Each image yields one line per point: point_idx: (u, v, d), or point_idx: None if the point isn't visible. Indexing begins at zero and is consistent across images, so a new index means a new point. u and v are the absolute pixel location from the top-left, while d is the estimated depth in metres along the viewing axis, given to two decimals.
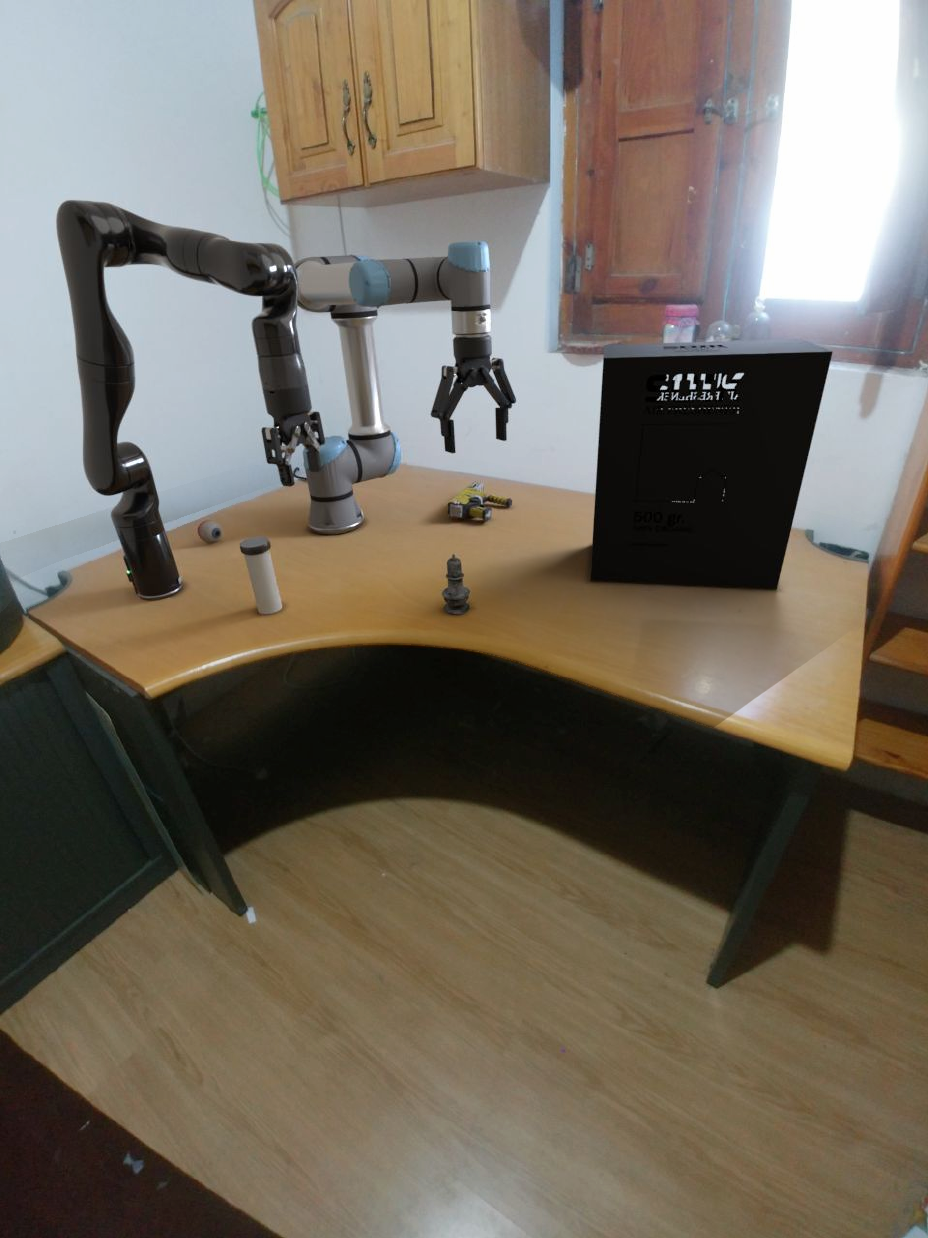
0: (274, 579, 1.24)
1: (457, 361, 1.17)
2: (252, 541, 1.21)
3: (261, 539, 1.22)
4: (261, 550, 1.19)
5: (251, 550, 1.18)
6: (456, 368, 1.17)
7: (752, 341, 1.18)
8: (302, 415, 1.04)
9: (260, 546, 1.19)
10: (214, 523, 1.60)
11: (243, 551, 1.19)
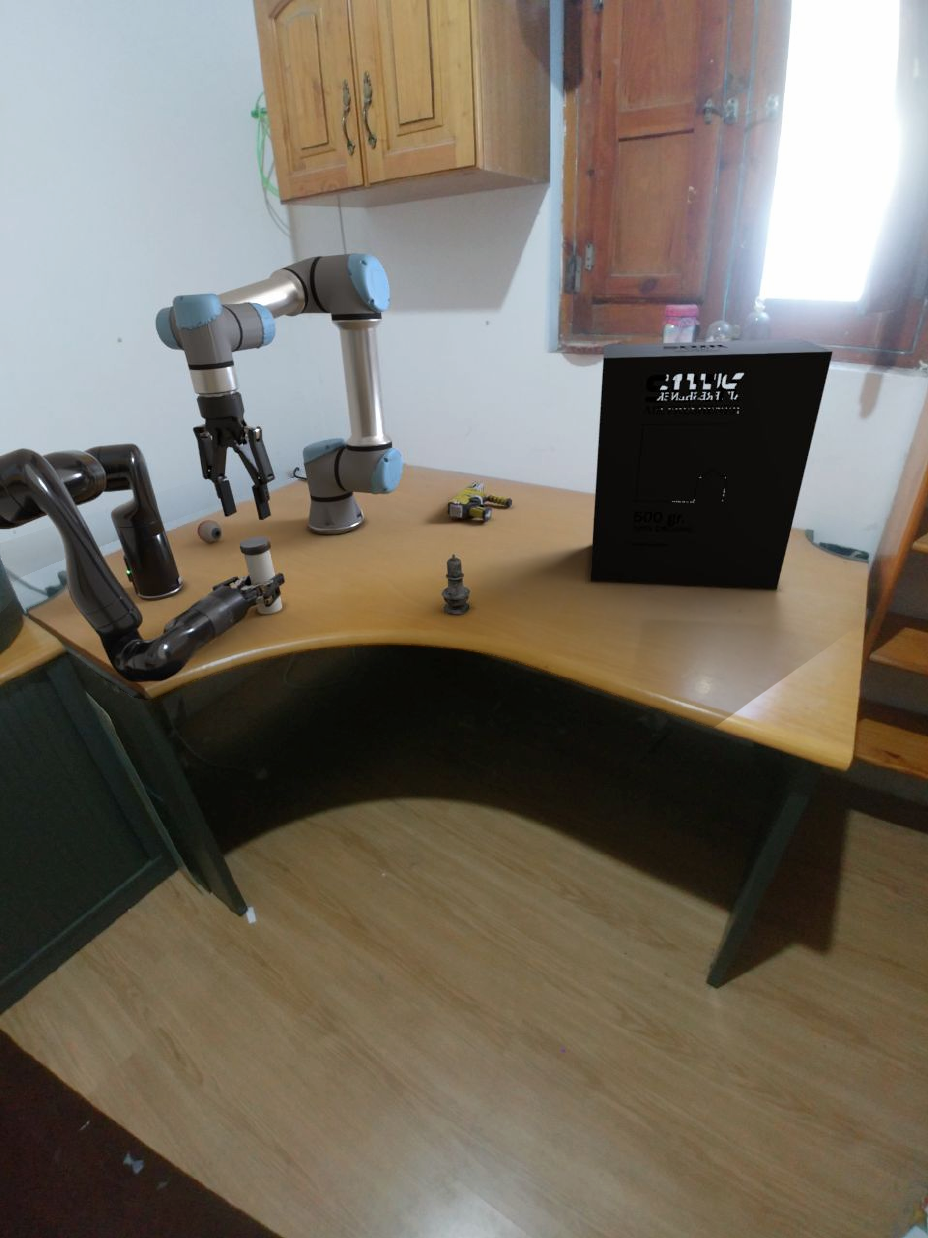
0: None
1: (241, 418, 1.07)
2: (252, 541, 1.21)
3: (261, 539, 1.22)
4: (261, 550, 1.19)
5: (251, 550, 1.19)
6: None
7: (752, 341, 1.18)
8: None
9: (260, 546, 1.19)
10: (214, 523, 1.60)
11: (243, 551, 1.19)
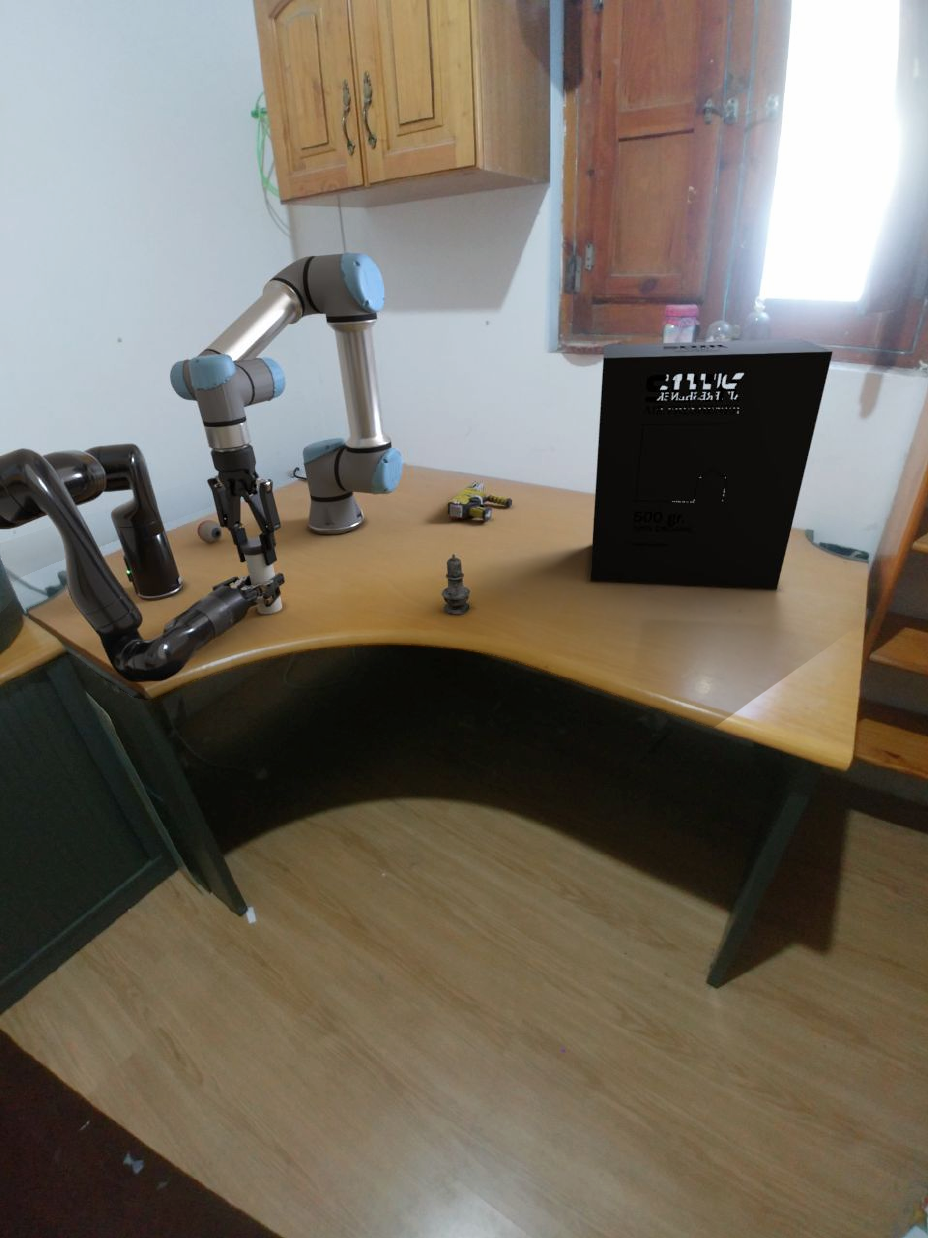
0: None
1: (252, 470, 1.12)
2: (252, 541, 1.21)
3: None
4: (261, 550, 1.19)
5: (251, 550, 1.18)
6: None
7: (752, 341, 1.18)
8: None
9: (260, 546, 1.19)
10: (214, 523, 1.60)
11: (243, 551, 1.19)
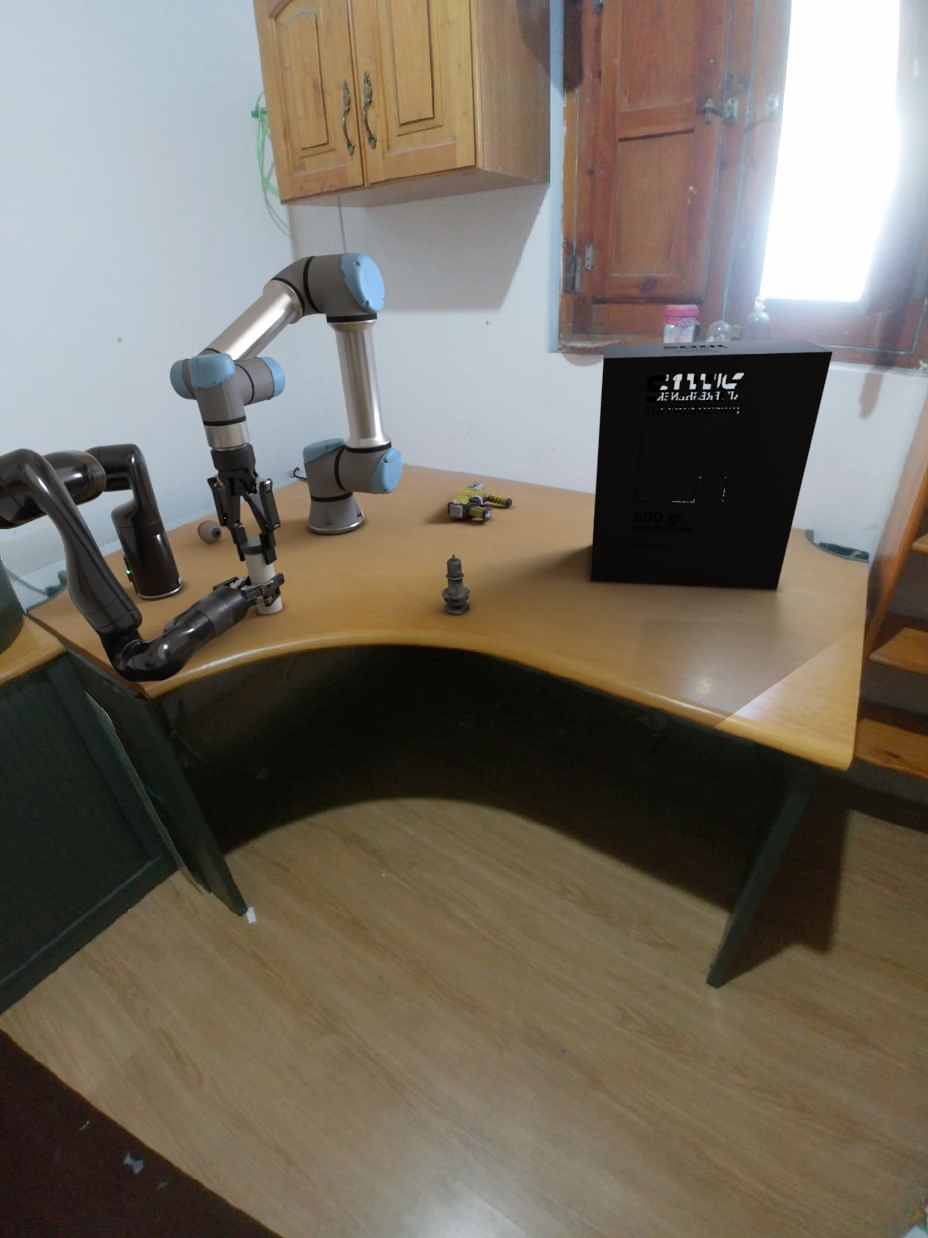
0: None
1: (252, 469, 1.12)
2: (252, 542, 1.20)
3: (247, 540, 1.21)
4: None
5: None
6: None
7: (752, 341, 1.18)
8: None
9: None
10: (214, 523, 1.60)
11: None
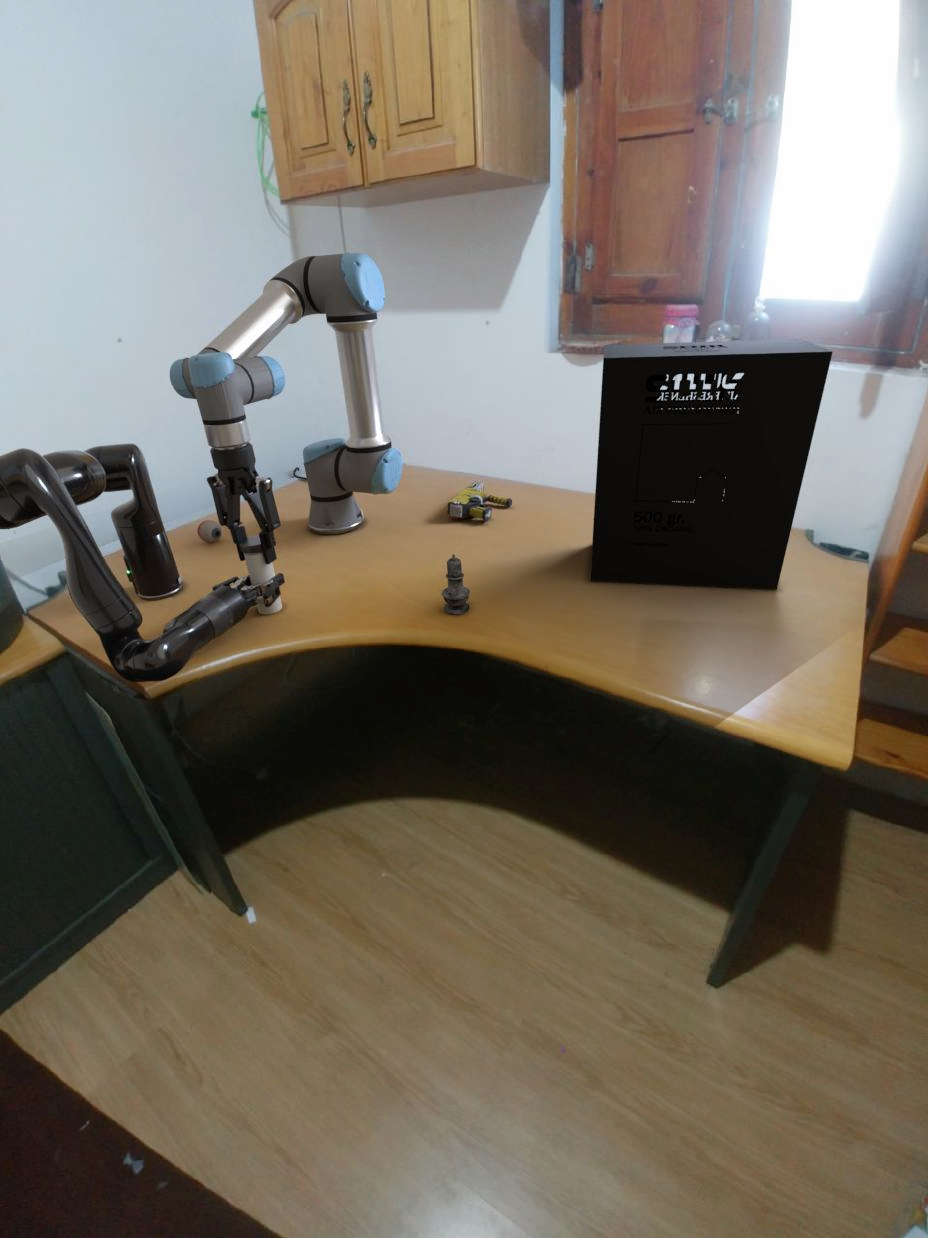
0: None
1: (252, 469, 1.12)
2: (256, 540, 1.20)
3: (250, 543, 1.19)
4: None
5: None
6: None
7: (752, 341, 1.18)
8: None
9: None
10: (214, 523, 1.60)
11: None
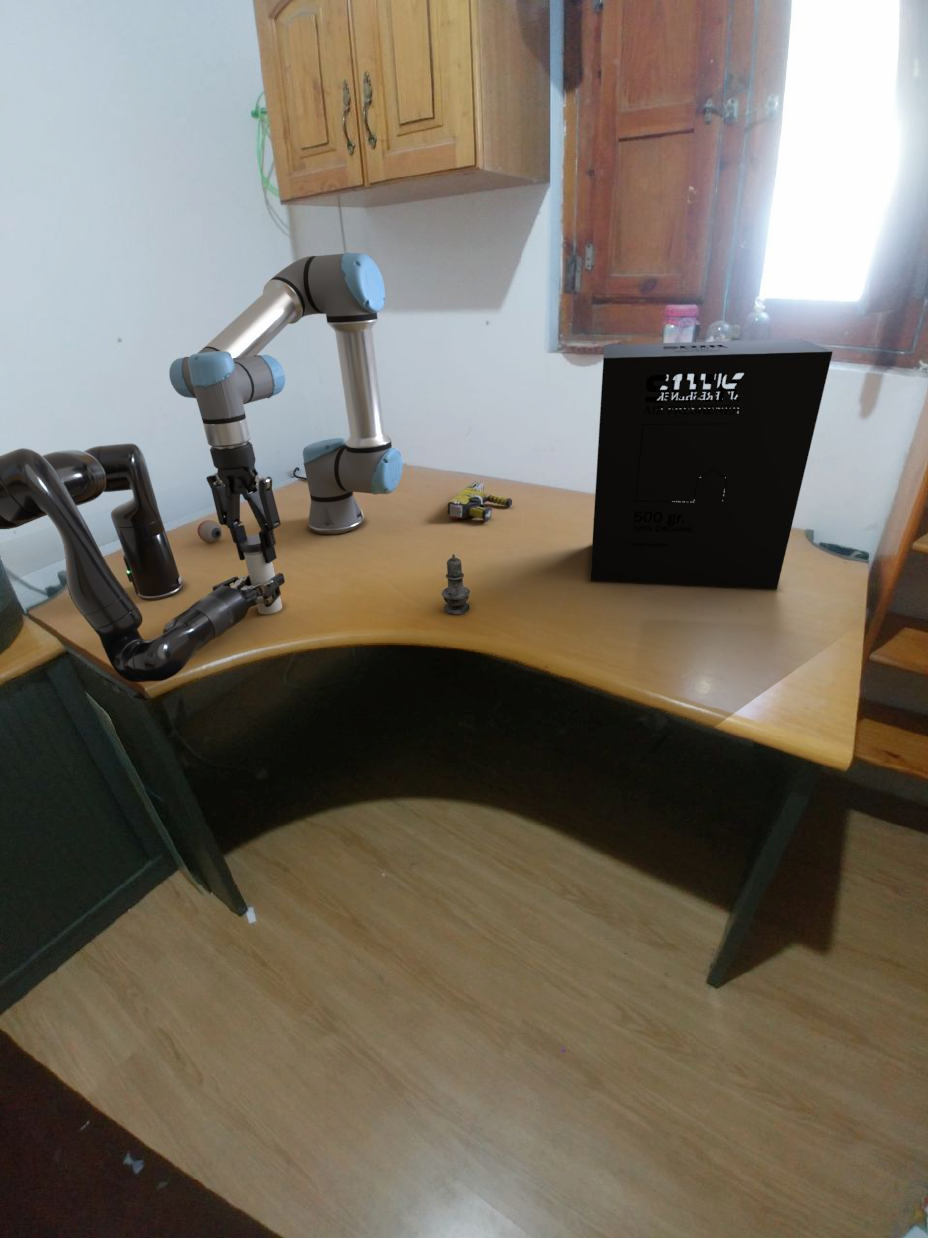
0: None
1: (252, 468, 1.12)
2: (252, 538, 1.21)
3: None
4: (254, 549, 1.18)
5: (244, 547, 1.18)
6: None
7: (752, 341, 1.18)
8: None
9: (253, 545, 1.18)
10: (214, 523, 1.60)
11: (240, 547, 1.20)
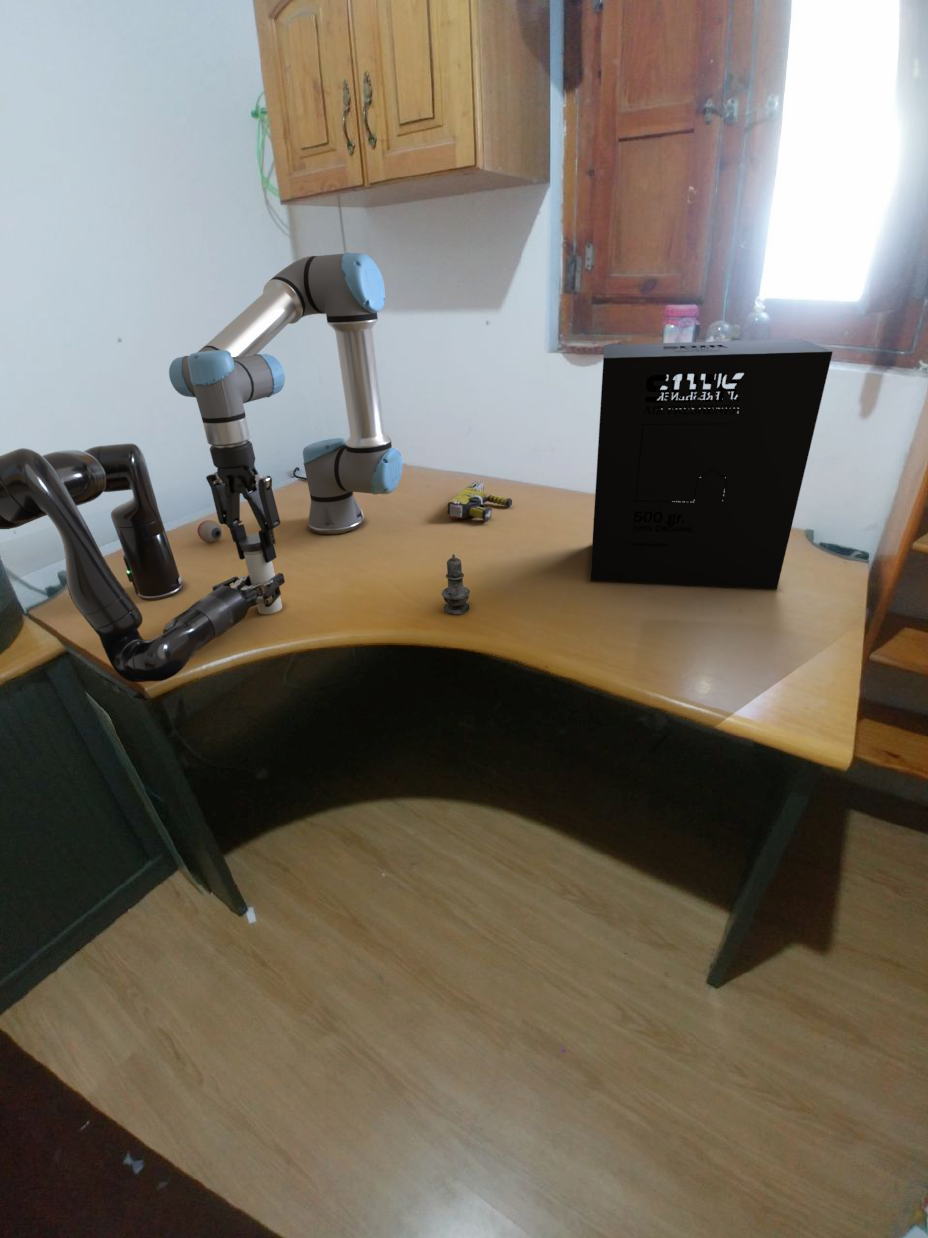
0: None
1: (252, 467, 1.12)
2: (251, 539, 1.20)
3: (250, 536, 1.21)
4: None
5: None
6: None
7: (752, 341, 1.18)
8: None
9: None
10: (214, 523, 1.60)
11: (261, 546, 1.19)
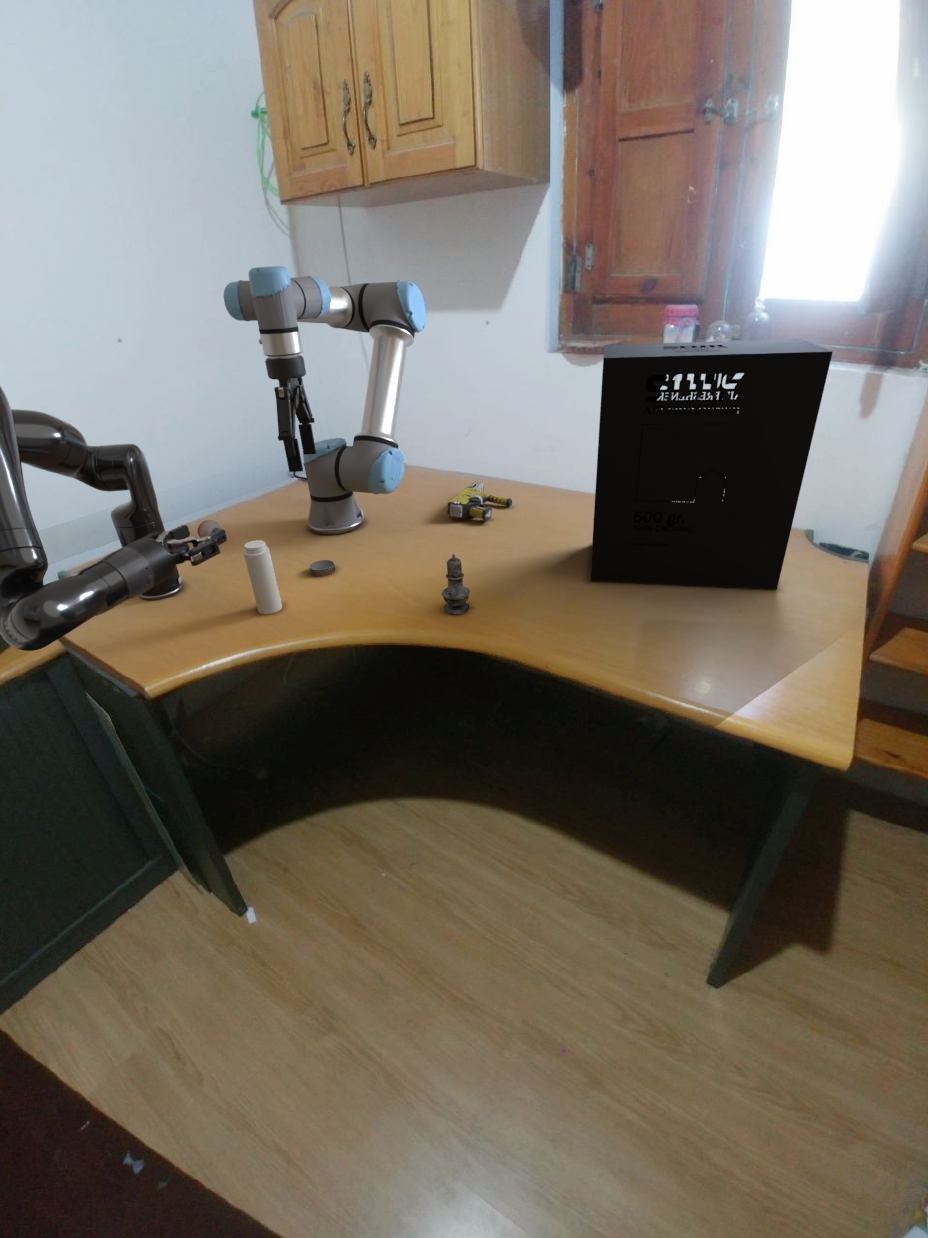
0: (274, 579, 1.24)
1: None
2: (323, 565, 1.42)
3: (317, 567, 1.41)
4: None
5: None
6: None
7: (752, 341, 1.18)
8: None
9: None
10: (214, 523, 1.60)
11: None
